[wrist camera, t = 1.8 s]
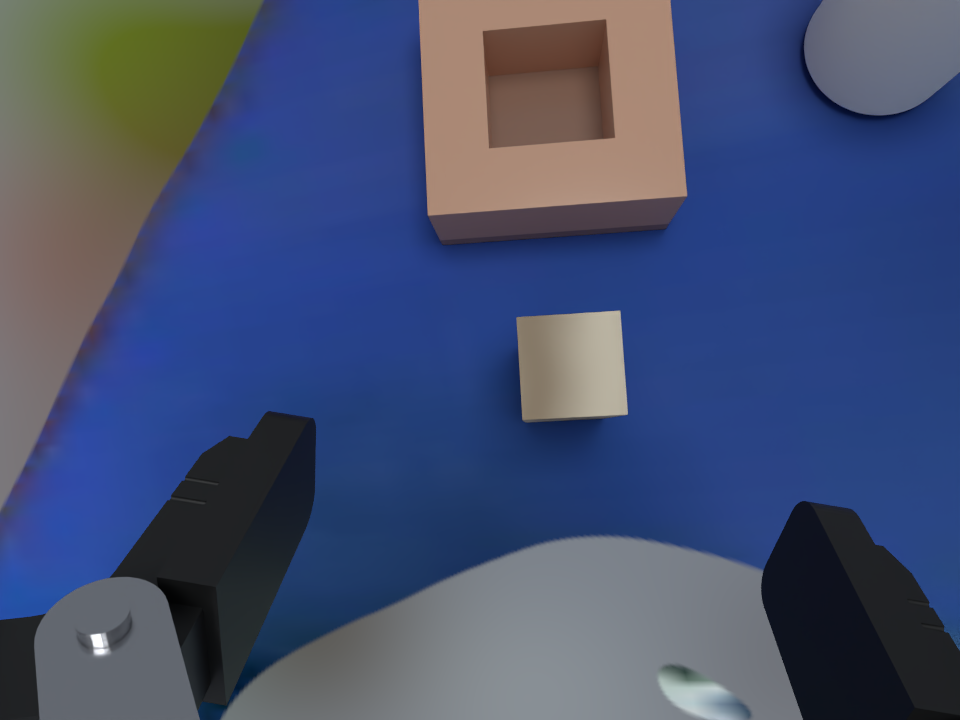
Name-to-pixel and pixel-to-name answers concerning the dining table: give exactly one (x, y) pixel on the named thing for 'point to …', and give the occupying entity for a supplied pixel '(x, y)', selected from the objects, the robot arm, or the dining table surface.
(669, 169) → the well
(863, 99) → the beverage can
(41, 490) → the dining table surface
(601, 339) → the post
